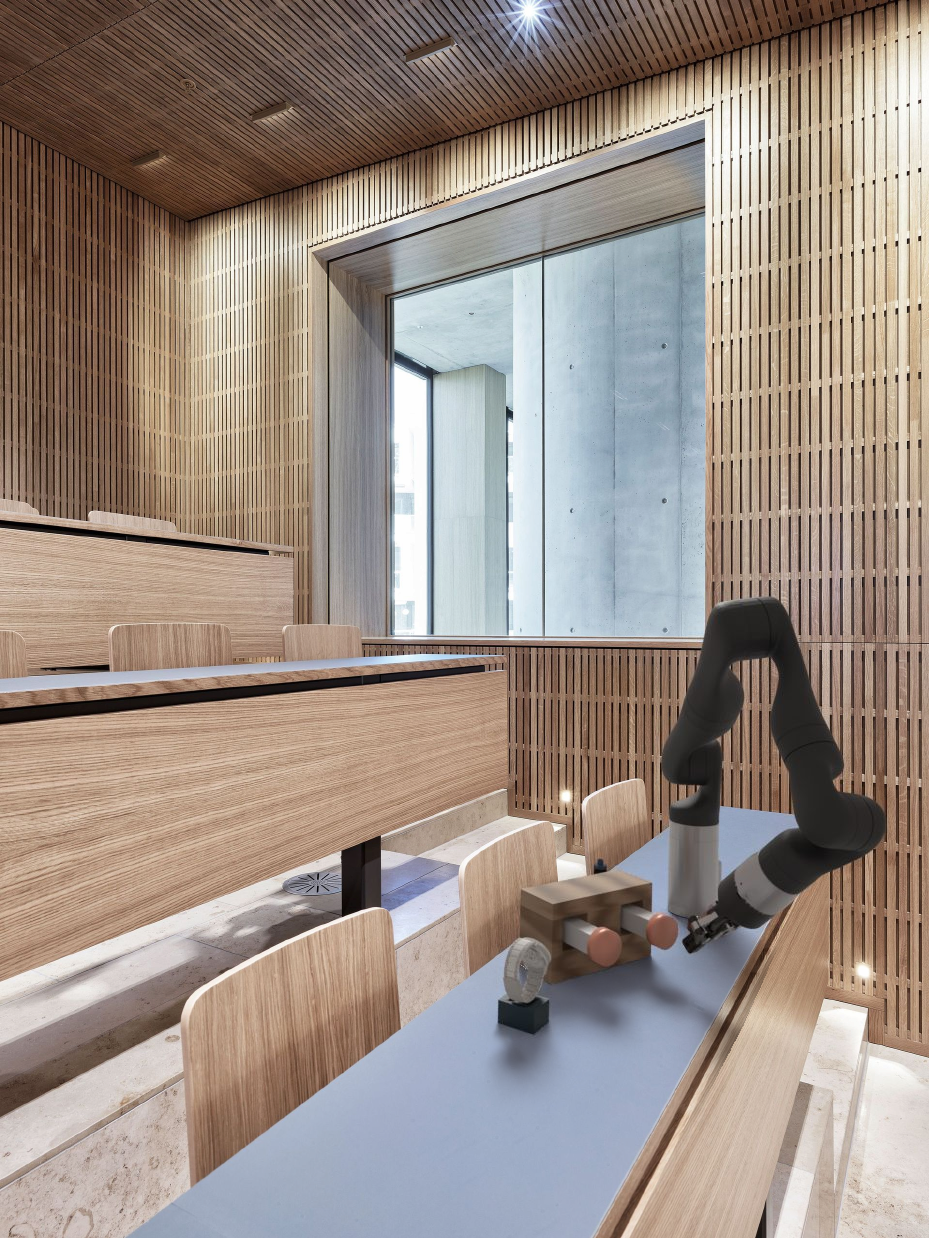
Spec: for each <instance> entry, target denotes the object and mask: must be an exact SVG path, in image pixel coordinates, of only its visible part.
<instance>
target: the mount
mask: <svg viewBox="0 0 929 1238" xmlns="http://www.w3.org/2000/svg"><path fill="white" fill-rule="evenodd" d="M627 903H631V904H633V905H635V906H638V907H640V908H642V909H645V910H647V911H650V912H652V913H653V882H652V881H649V880H647V879H644V878H641V877H639V876H636V875H633V874H631V873H628V872H626V871H623V870H620V869H613V870H610V871H608V870H607V872H603V873H598V874H594V873H593V874H589V875H584V876H580V877H579V876H578V877H575V878H569V879H565V880H559V881H553V882H549V883H548V882H547V883H544V884H539V885H533V886H529V887H523V888H520V903H519V905H520V906H519V908H520V909H519V910H520V911H519V938H525V937H527V938H533V939H535V940H537V941H539V942H540V943H542V944H543V945H544V946H545V947H546V948H547V949H548V951H549V952H550V955H551V961H550V962H549V965H548V969H547V973H546V975H544V978H543V981H545V980H546V981H547V982H546V981H545V982H546V983H547V984H549V985H554V984H558V983H562V982H565V981H568V980H571V979H575V978H579V977H582V976H586V975H589V974H593V973H596V972H598V971H599V972H600V971H603V970H607V969H610V968H614V967H616V966H620V964H621V965H623V964H627V962H628V963H631V962H633V961H634V960H635V961H639V960H641V959H645V958H648V957H651V956H652V945H651V944H650V943H649V942H648V940H647V939H646V938H644V937H641V936H639V935H637V934H635V933H633V932H630V931H628V930H626V929H624V928H622V927H620V924H621V905H623V904H627ZM571 916H575V917H577V918H579V919H581V920H583V921H585V922H587V923H589V924H591V925H594V926H596V927H598V928H599V927H605V928H608V929H610V930H612V931H614V932H616V933H617V934H618V935H619V936H620V938H621V942H622V948H621V953H620V955H619V958H618V959H617V961H616V962H615V963H614V964H612V965H611V966H608V967H605V966H602V965H600V964H598V963H596V962H594V961H593V960H591V959H590V958H589V956H588V954H586V953H584V952H582V951H580V950H578V949H576V948H575V947H573V946H571V945H569V944H567V943H565V942H563V941H562V931H563V918H567V917H571ZM630 961H631V962H630ZM520 965H522V966H524V963H523V962H522V961H521V963H520ZM522 966H521V967H522ZM524 967H525V966H524ZM528 970H529V969H528ZM528 970H527V971H528Z"/></svg>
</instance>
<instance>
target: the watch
mask: <svg viewBox="0 0 929 1238" xmlns="http://www.w3.org/2000/svg"><path fill="white" fill-rule="evenodd" d="M521 961H522V962H523V963H524V966H525V968H526V969H525V968H524V969H525V970H526V971H528V972H527V977H526V980H525V983H524V985H523V987H522V983H521V982H522V981H521V980H520V979H519V970H520V967H521V966H520V963H521ZM550 961H551V955H550V952H549V951H548V949H547V948H546V947H545V946H544V945H543V944H542V943H540V942H539V941H537V940H535V939H533V938H527V937H525V938H520V937H518V938H517V939H515V940H514V941H513V943H512V944H511V946H510V947H509V948H508V951H507V954H506V958H505V961H504V967H503V977H502V979H503V981H502V982H503V985H504V989H505V992H506V993H505V994H504V995H503V996H501V997H499V998H498V1000H497V1024H500V1025H502V1026H505V1027H508V1028H511V1029H514V1030H518V1031H521V1032H523V1033H527V1034H530V1035H532V1036H535V1035H536V1034H537V1033H538V1032H539V1031H540V1030H542V1028H544V1027H545V1026H546V1025H547V1024H549V1023H550V998H549V997H544V996H541V995H539V992H540V989H541V987H542V984H543V981H544V980H543V978H544V975H546V973H547V969H548V965H549V962H550ZM528 969H529V970H528Z"/></svg>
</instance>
